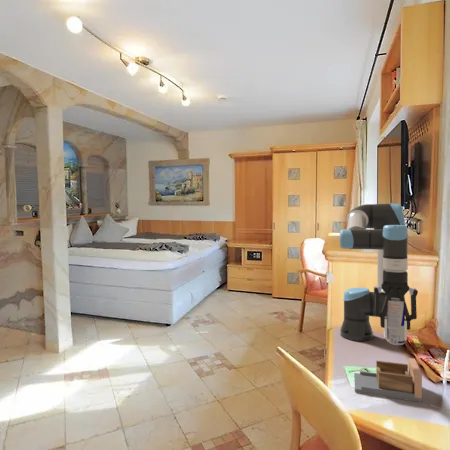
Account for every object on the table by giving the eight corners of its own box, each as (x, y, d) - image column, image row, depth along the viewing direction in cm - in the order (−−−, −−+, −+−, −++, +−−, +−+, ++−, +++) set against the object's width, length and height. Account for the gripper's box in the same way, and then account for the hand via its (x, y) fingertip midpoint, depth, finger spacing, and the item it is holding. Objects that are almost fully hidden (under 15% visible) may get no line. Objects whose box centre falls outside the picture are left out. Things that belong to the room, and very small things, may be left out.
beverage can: (407, 346, 113) (407, 301, 113) (389, 345, 114) (389, 301, 114) (401, 340, 119) (402, 297, 118) (384, 339, 120) (384, 297, 119)
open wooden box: (376, 376, 124) (376, 360, 123) (407, 380, 120) (407, 364, 120) (378, 390, 114) (378, 372, 114) (412, 395, 111) (412, 377, 111)
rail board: (354, 376, 127) (354, 351, 127) (414, 384, 120) (414, 358, 120) (355, 392, 116) (355, 365, 115) (421, 402, 109) (421, 374, 109)
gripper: (366, 271, 115) (366, 338, 116) (428, 273, 109) (428, 344, 110) (365, 267, 122) (365, 331, 123) (423, 269, 116) (423, 336, 117)
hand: (395, 337), depth 116 cm, fingers closed on beverage can, 5 cm apart
